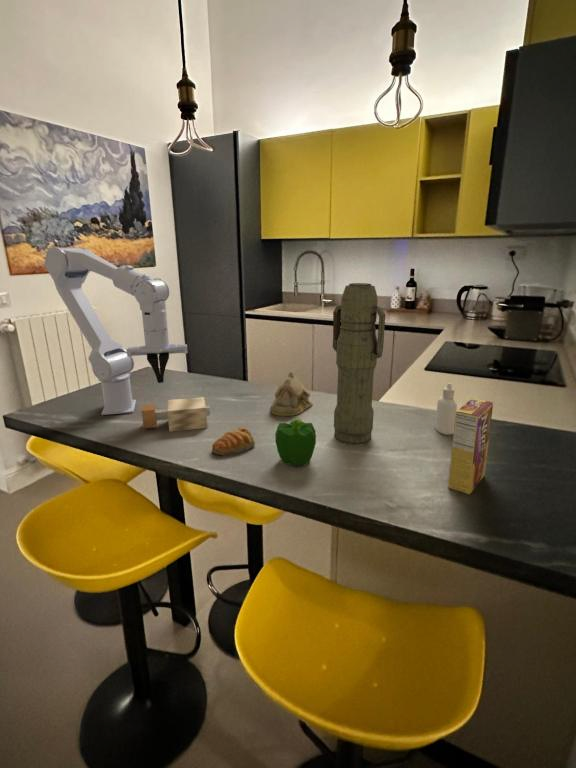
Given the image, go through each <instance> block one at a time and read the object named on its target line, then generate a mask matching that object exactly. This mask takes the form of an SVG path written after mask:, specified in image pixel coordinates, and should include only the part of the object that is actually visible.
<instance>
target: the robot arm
mask: <svg viewBox="0 0 576 768" xmlns="http://www.w3.org/2000/svg"><path fill="white" fill-rule="evenodd" d="M44 258H45V259H44V267H45V269H46V270H47V272H48V273H49V276H50V277H51V278H52V280H53V283H54V286H55V289H56V291H57V293H58V295H59V296H60V298H61V300H62V301H63V303H64V305H65V306H66V308H67V310H68V312H69V313H70V314H71V316H72V318H73V320H74V321H75V323H76V324H77V326H78V328H79V330H80V332H81V333H82V335H83V336H84V338H85V340H86V341H87V343H88V344H89V347H90V348H91V351H90V353H89V355H88V358H87V359H88V361H89V363H90V365H91V370H92V373H93V374H94V376H95V377H96V378H97V379H98V381H99V382H100V384H101V390H102V397H103V405H104V407H103V408H102V411H101V416H104V415H105V416H106V415H117V414H118V415H119V414H129V413H134V411H135V406H136V402H137V400H136V399H133V394H132V386H131V385H132V384H131V379H130V376H131V375H132V371H133V369H134V368H135V360H134V357H137V356H146V360H147V362H148V363H149V366H150V367H151V369H152V371H153V373H154V375H155V377H156V382H157V384H161V383H162V384H163V383H164V380H165V379H164V376H165V370H166V367H167V364H168V362H169V359H170V355H171V354H188V352H189V351H188V344H170V341H169V330H168V328H169V326H168V319H167V316H168V315H167V307H166V306H167V305H166V301H167V300H168V299H169V296H170V289H169V286H168V284H167V283H166V282H165V281H164V280H162V278H151V277H150V275H149V274H146V273H145V274H144V273H141V272H139V271H137V270H135V268H134V266H132V265H131V264H129V265H128V264H126V265H120V266H119V267H118V266H116V265H114V264H113V263H111V262H109V261H107V260H106V259H104V258H102V257H101V256H99V255H96V254H95V253H94V252H93V251H92V250H89V249H87V248H86V247H83V246H82V247H56V246H52V247H50V248H48V249H47V251H46V253H45V257H44ZM90 272H93V273H95V274H98V275H100V276H103V277H104V278H107V279H109V280H111V281H112V283H113V286H114V287H115V288H117V289H119V290H121V291H123V292H125V293H127V294H128V295H131V296H133V297H134V298H135V299H136V302H138V304H139V310H140V311H141V315H142V316H141V318H142V326H143V335H144V336H143V337H144V344H145V345H139V346H133V347H131V346H129V347H126V349H125V347H124V346H123V344H121V343H119V342H118V341H115V340H113V339H112V338H111V336H110V334H109V332H108V330H107V329H106V328H105V326H104V324H103V323H102V321H101V318H99V316H98V314H97V312H96V311H95V309H94V307H93V306H92V304H91V303H90V301H89V298H88V297H87V295H86V294H85V292H84V290H83V289H82V285H83V284H84V283H85V281H86V279H87V277H88V275H89V273H90Z"/></svg>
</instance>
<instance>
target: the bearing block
mask: <svg viewBox="0 0 576 768" xmlns="http://www.w3.org/2000/svg"><path fill="white" fill-rule="evenodd" d="M206 406H207V404H206V402H205V397H204V396H202V397H190V398H178V399H177V398H175V399H168V400H167V409H168V419H167V420H168V421H167V422H168V430H169V432H176V431H177V432H179V431H180V432H181V431H189V430H198V429H199V430H200V429H207V428H208V419H207V416H206Z"/></svg>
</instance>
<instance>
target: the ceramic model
mask: <svg viewBox="0 0 576 768" xmlns="http://www.w3.org/2000/svg"><path fill="white" fill-rule="evenodd" d="M274 397H275V398H274V400H273V401H271V406H270V409H269V410H270V412H271V414H273V415H274V416H275V415H276V416H284V417H285V416H295V415H296V416H297V415H299V414H302V413H303V412H304V411H305V410H306V409H309V408H310V407H312V406H313V405H314V403H313V402H312V401H310V399H309V398H310V397H311V392H310V391H309V390H308V389H307V388H306V386H305V385H304V384H303V383H302V381H300V379H299V378H298V377H297V376H296V375H295V373H293V372H289V373H288V375H287V378H286V379H285V380H284V381H282V383H280V384H278V387H277V389H276V391H275V393H274Z"/></svg>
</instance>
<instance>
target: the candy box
mask: <svg viewBox="0 0 576 768" xmlns="http://www.w3.org/2000/svg"><path fill="white" fill-rule="evenodd" d="M493 408H494V402H493V401H488V400H483V399H479V398H471V399H469V400H468V401H467V402H466V403H465V404H464V405H462V406H461V407H460V408H457V410H456V414H455V424H454V433H453V434H452V443H451V444H452V445H451V454H450V464H449V465H450V466H449V474H448V485H447V487H448V489H452V490H454V491H457V492H460V493H463V494H465V495H471V493H472V492H473V491H474V490H475V488H476V487H477V486H478V484H479V483H480V482H481V481H482V480H483V478H484V477H485V474H486V467H487V466H486V465H487V459H488V450H489V449H488V448H489V442H490V433H491V432H490V431H491V426H492V417H493Z"/></svg>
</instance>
